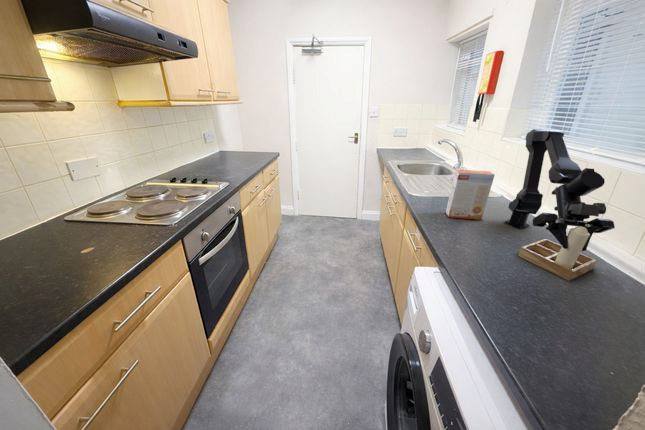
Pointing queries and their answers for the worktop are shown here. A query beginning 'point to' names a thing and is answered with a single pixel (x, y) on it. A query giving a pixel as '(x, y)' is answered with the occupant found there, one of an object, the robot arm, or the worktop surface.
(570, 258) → the dome-topped white cylinder
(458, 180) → the cracker box
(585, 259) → the grid
